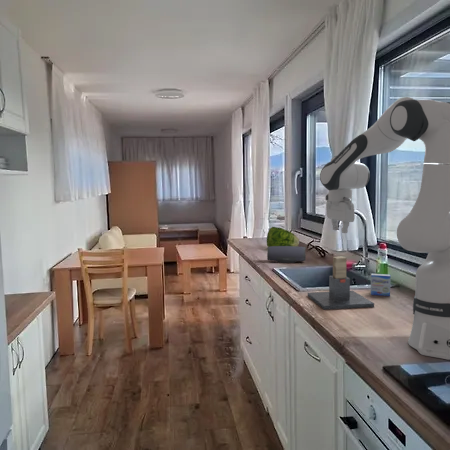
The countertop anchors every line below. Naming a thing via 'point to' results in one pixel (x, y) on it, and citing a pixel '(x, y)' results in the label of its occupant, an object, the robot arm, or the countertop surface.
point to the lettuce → (281, 237)
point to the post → (339, 267)
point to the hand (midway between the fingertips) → (339, 231)
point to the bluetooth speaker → (286, 254)
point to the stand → (339, 296)
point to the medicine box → (380, 284)
